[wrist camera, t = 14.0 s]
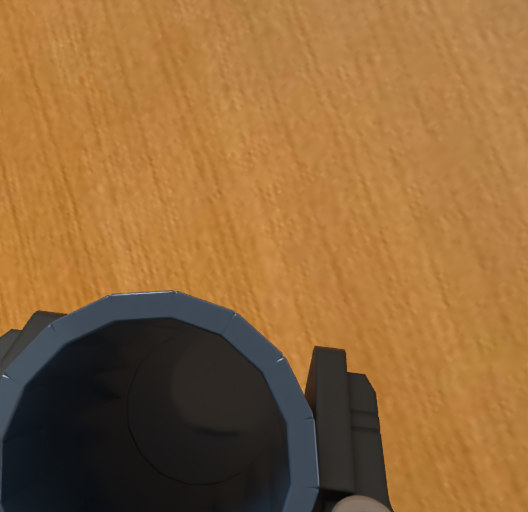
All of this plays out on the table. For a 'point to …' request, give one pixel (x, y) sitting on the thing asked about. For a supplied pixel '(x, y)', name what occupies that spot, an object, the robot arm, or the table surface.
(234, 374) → the cup
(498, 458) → the table surface
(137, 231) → the table surface
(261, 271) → the table surface
